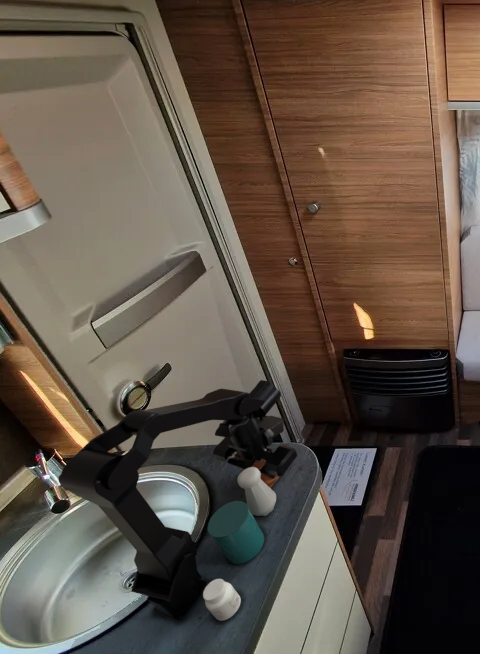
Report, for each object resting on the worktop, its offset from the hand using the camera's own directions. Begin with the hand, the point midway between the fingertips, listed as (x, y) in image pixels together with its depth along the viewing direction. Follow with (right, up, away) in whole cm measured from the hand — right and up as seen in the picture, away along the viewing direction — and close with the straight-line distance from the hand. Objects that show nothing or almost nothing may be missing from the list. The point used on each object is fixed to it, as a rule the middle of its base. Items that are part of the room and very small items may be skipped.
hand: (265, 474), depth 102 cm
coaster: (0, -1, +1) cm, 1 cm away
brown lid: (0, -1, 0) cm, 1 cm away
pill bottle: (+5, -15, -22) cm, 27 cm away
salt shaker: (+3, -5, -6) cm, 8 cm away
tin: (+3, -9, -13) cm, 16 cm away
